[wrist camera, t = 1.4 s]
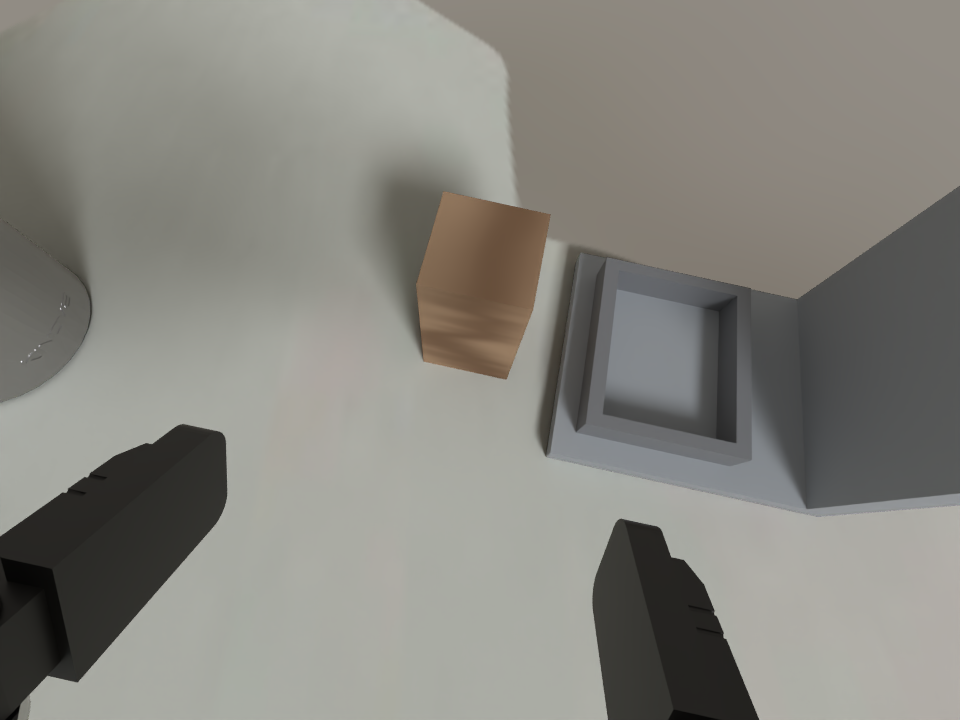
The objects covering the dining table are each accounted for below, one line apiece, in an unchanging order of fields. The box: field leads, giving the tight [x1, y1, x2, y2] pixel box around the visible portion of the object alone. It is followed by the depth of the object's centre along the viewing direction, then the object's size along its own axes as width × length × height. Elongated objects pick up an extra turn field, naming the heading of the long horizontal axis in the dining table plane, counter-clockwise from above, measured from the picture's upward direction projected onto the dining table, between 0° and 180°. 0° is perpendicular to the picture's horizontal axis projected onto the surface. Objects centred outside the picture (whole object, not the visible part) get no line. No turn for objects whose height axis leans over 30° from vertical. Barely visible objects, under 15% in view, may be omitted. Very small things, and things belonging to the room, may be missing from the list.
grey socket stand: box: [546, 186, 960, 517], centre depth 19 cm, size 16×13×21 cm
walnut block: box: [416, 191, 550, 379], centre depth 25 cm, size 5×6×9 cm
